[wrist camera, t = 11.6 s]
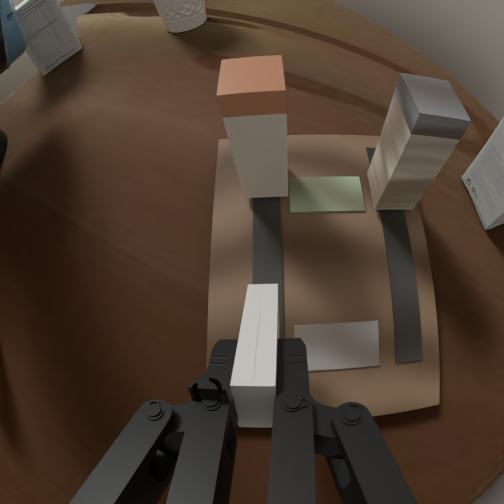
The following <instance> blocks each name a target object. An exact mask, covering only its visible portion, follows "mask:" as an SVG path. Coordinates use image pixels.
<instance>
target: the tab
mask: <svg viewBox="0 0 504 504" xmlns="http://www.w3.org/2000/svg"><path fill="white" fill-rule="evenodd" d="M217 99H218V102H219V106H220V110H221V113H222V117H223V121H224V124H225V128H226V132H227V135H228V139H229V143H230V147H231V150H232V154H233V158H234V162H235V165H236V169H237V173H238V176H239V180H240V184H241V188H242V191H243V195H244V198H260V197H285V196H288V152H287V116H286V90H285V81H284V72H283V64H282V56H281V55H274V56H257V57H245V58H234V59H225V60H222V61H221V68H220V75H219V82H218V89H217Z"/></svg>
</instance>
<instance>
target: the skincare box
mask: <svg viewBox="0 0 504 504" xmlns="http://www.w3.org/2000/svg"><path fill="white" fill-rule="evenodd" d="M462 180H463V182H464V185H465V186H466V188H467V190H468V192H469V194H470V196H471V198H472V201H473V203H474V205H475V208H476V210H477V213H478V215H479V217H480V219H481V222H482V224H483V227H484V229H485V230H489V229H492V228H493V227H495V226H498V225H501V224H504V117H503V119H502V120H501V122H500V124H499V125H498V127H497V128H496V129H495V131H494V132H493V134H492V135H491V137H490V138H489V140H488V141H487V143H486V144H485V146H484V147H483V149H482V150H481V151H480V153H479V154H478V156H477V157H476V158H475V160H474V161H473V163H472V164H471V165H470V167H469V168H468V169H467V171H466V172H465V173H464V175H463V176H462Z"/></svg>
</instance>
